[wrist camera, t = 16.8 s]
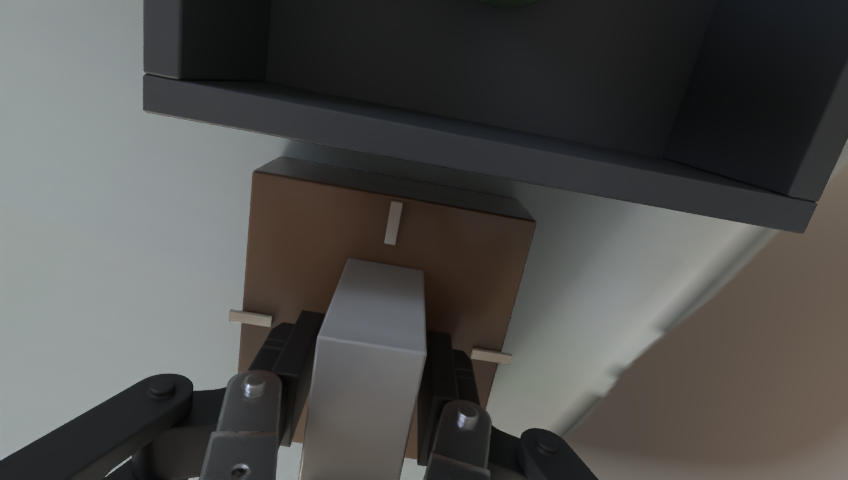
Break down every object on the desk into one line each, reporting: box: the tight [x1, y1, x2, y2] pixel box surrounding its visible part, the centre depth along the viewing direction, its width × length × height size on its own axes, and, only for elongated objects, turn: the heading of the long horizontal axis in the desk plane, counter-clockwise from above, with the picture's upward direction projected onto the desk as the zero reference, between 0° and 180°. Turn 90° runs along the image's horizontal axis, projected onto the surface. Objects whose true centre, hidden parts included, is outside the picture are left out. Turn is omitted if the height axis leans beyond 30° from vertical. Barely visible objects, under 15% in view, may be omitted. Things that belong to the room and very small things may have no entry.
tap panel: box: [229, 156, 536, 459], centre depth 17 cm, size 10×10×3 cm
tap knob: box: [298, 258, 427, 480], centre depth 14 cm, size 6×2×5 cm, turn 169°
